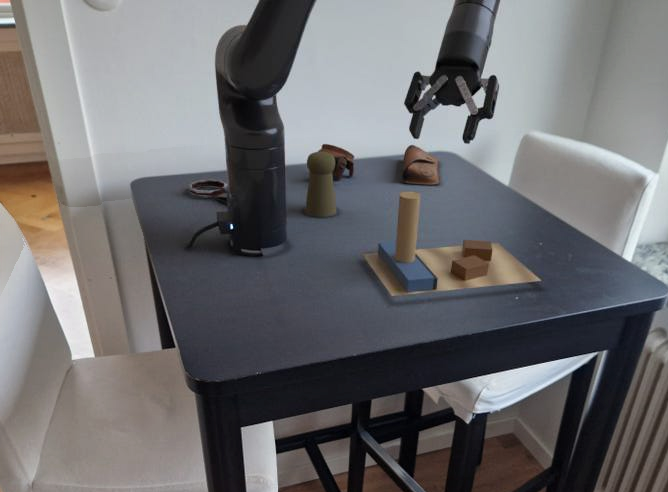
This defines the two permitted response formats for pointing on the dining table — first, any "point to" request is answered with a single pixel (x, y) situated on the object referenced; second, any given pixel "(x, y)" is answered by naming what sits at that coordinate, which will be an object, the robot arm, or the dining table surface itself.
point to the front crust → (469, 267)
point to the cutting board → (440, 262)
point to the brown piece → (339, 161)
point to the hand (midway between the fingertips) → (439, 139)
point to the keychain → (218, 194)
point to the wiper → (407, 248)
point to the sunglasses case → (420, 167)
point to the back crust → (477, 249)
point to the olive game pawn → (320, 185)
